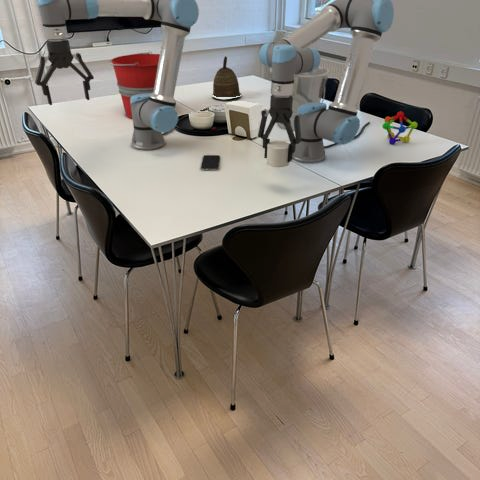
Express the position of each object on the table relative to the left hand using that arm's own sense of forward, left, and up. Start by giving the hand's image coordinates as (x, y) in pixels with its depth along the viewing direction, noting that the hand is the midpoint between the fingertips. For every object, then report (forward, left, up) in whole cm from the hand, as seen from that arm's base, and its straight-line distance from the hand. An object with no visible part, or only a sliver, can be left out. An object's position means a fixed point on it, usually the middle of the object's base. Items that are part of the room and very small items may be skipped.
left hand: (69, 101), depth 165 cm
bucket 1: (-84, +2, -28) cm, 88 cm away
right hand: (+6, +79, -16) cm, 81 cm away
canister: (+6, +79, -18) cm, 81 cm away
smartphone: (-16, +50, -28) cm, 59 cm away
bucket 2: (-74, +85, -28) cm, 116 cm away
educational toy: (-52, +133, -28) cm, 145 cm away
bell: (-126, +41, -28) cm, 135 cm away
